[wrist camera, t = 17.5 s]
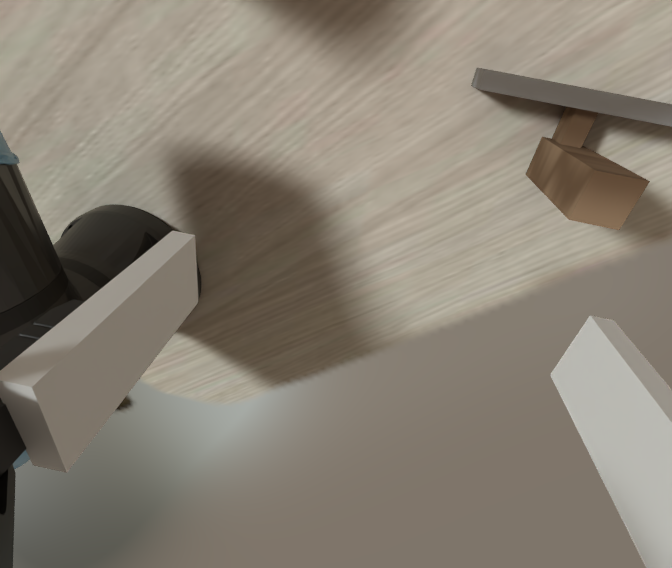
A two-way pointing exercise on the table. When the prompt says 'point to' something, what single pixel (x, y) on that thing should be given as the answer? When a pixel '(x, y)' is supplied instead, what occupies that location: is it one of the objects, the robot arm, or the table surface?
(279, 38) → the table surface
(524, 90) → the scraper
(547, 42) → the table surface
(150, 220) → the robot arm
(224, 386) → the table surface
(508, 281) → the table surface
